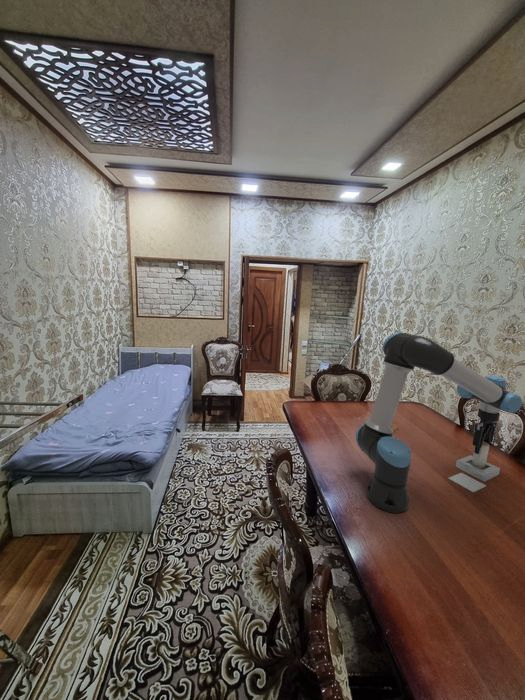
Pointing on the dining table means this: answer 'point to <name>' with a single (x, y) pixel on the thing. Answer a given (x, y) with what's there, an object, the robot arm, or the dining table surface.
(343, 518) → the dining table surface
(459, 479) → the pad
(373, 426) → the robot arm
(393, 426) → the bracket
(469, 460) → the housing
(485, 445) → the off-white cylinder
